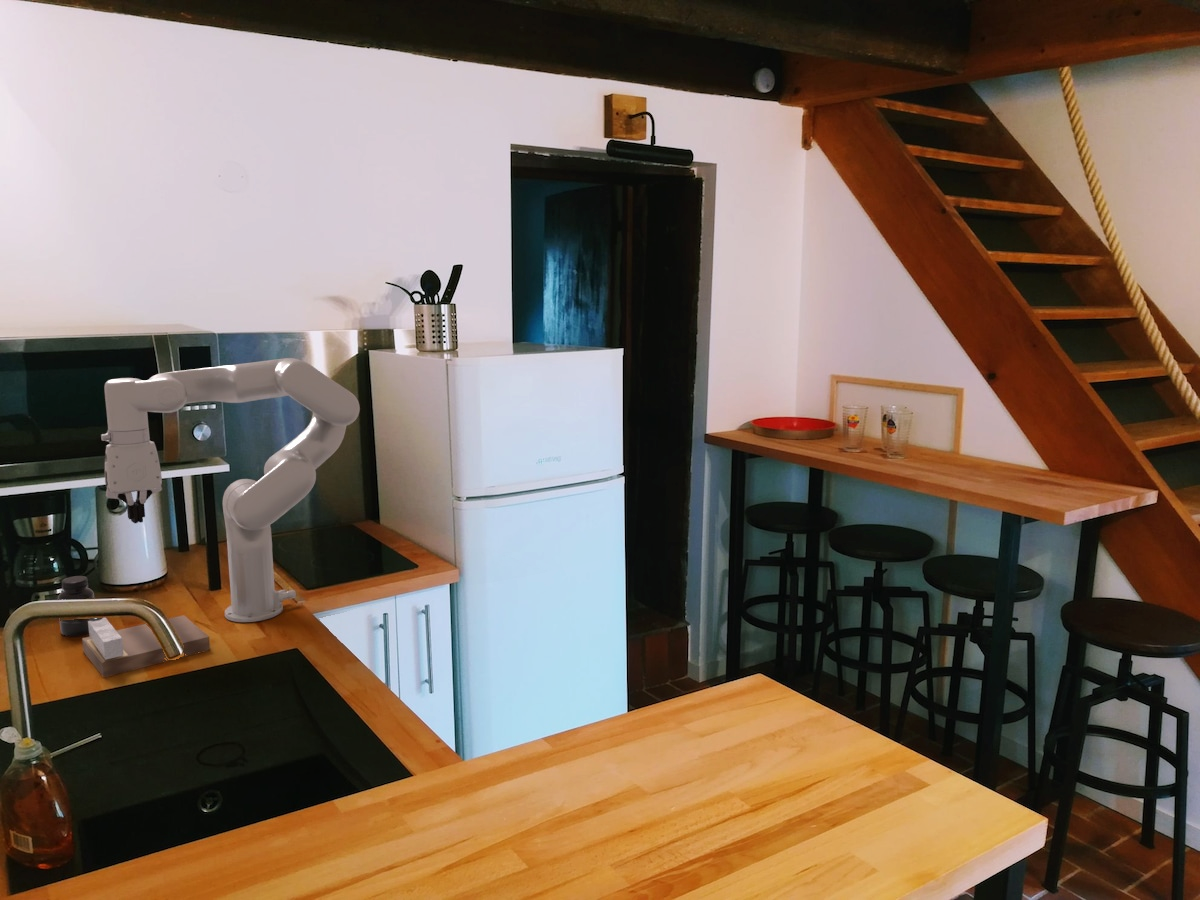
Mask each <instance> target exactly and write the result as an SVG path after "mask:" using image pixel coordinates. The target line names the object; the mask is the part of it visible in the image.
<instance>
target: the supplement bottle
mask: <svg viewBox="0 0 1200 900" xmlns="http://www.w3.org/2000/svg"><path fill="white" fill-rule="evenodd" d="M88 581H89V580H88V577H87V576H85V575H84V576H83V575H75V576H68V577H66V578H63V579H62V581H61V589H62V591H61V592H60V593H59V595H57V600H58V599H86V598H94V599H95V593H94V591H93V590H92V589H91V588H89V583H88ZM88 621H90V620H89V619H74V620H61V621H60V620H59V626H60V627H59V628H60V633H61V634H62V635H63V636H64V635H65V637H70V636H74V637H81V636H80V635H82V636H85V634H86V635H89V634H88V633H89V627H88Z"/></svg>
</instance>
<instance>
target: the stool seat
mask: <svg viewBox="0 0 1200 900" xmlns="http://www.w3.org/2000/svg"><path fill="white" fill-rule="evenodd" d="M168 619H169V621H170V623H171V624H172V626H173V628H174V629H175V631H176V632H177V634H178V636H179V637H180V639H181V641H182V643H183V645H184V656H185V654H186V655H189V656H193V655H196V654H195V653H197V654H199V653H198V652H201V653H204V652H203V651H205V652H209V651H211V643H210V636H209V635H208V634H207V633H206V632H205V631H203V630H202V629H201V628H200V627H198V626H197V625H196V624H195V623H194V622H193V621H191V619H189V618H188V617H187V616H186V615H185V614H182V615H178V616H174V617H170V618H168ZM146 624H147V623H143V624H139V625H136V626H135V625H134V626H130V627H126V628H122V629H118V630H116V631H117V633H118V634H119V635H120V636H121V638H122V644H123V654H124V655H123V656H119V657H115V658H111V659H106V660H105V659H104V657H103V656H102V654H101V653H100V652H99V650H98V649H97V647H96V646H95V645H94V643H93V642H92V640H91V639H90V637H89V636H86V637H82V638H81V640H82V651H83V653H84V654H85V656H86V657H87V658H88V660H89V661H90V662H91V664H92V665H93V666H94V667H95V669H96V670H97V672H99V674H100V675H101V677H103V678H108V677H111V676H114V675H115V676H116V675H119V674H123V673H127V672H130V671H134V670H135V671H136V670H138V669H142V668H146V667H150V666H153V665H157V664H158V665H159V664H162V663H166V662H169V661H171V660H168V659H167V658H166V656H165V654H164V652H163V649H162V647H161V646H160V644H159V642H158V640H157V639H156V637H155V635H154V634H153V632H152V630H151V629H150V628H149V627H148V626H147V625H146ZM208 650H209V651H208ZM192 654H193V655H192ZM185 657H186V656H185ZM164 658H166V659H167V660H168V661H166V660H165V659H164ZM163 661H164V662H163Z"/></svg>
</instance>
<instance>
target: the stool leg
mask: <svg viewBox="0 0 1200 900" xmlns="http://www.w3.org/2000/svg"><path fill="white" fill-rule="evenodd" d="M89 620H90V621H88V627H89V634H88V635H89V636H88V637H90V639H91V640H92V642H93V643H94V645H95V646H96V647H97V649H98V650H99V652H100V653H101V654H102V656H103V657H104V659H105V660H106V659H111V658H115V657H119V656H123V655H124V654H123V644H122V638H121V636H120V635H119V634H118V633H117V630H116V629H115V627H114V626H113V625H112V623H110V621H109V620H108V618H107V617H103V618H90V619H89Z"/></svg>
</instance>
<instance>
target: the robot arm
mask: <svg viewBox="0 0 1200 900" xmlns="http://www.w3.org/2000/svg"><path fill="white" fill-rule="evenodd" d="M103 387H104V399H105V400H104V401H105V409H106V418H107V419H106V420H107V431H106V433H102V434H100V437H101V441H103V442H104V441H105V442H108V443H109V444H107V445H105V452H104V453H105V454H104V483H105V484H104V485H105V487H106V492H105V496H106V498H108V499H115V500H121V501H122V502H124V503H125V504H126V510H127V518H128V520H130V521H131V522H132V523H133V524H138V523H144V518H145V517H146V511H145V504H146V502H147V500H148V499H149V498H150V497H151V496H152V495H154V494H156V493H159V492H161V491H163V487H162V484H163V483H162V482H163V481H162V480H163V479H162V478H163V477H162V471H161V464H160V459H159V454H158V450H157V446H156V444H155V441H151V440H150V439H151V437H150V428H149V419H148V418H149V416H148V412H149V413H161V414H162V413H163V414H166V413H167V414H169V413H175V412H178V411H179V410H181V409H182V408H183V407H184V406H185V405H187V404H192V403H201V402H222V403H228V404H229V403H230V404H234V403H235V404H240V403H247V402H252V401H253V402H254V401H259V400H266V399H276V398H280V397H281V398H282V397H290V398H291V399H292V400H294V401H295V402H297V403H298V404H299V405H301V406H303V407H304V408H306V409H307V410H309V411H311V413H312V416H311V419H310V422H309V424H308V425H307V427H306V428H305V429H303V431H302V432H301V433H299V434H298V435H297V436H296V437H294V438H293V439H292V440H291V441H289V443H287V444H286V445H285V446H283V447H282V448H281V449H279V450H278V451H276V452H275V453H274V454H273V455H271V456H269V458H268V459H267V460H266V462H265V463H264V467H263V474H264V475H263V476H261V478H260V479H258V480H255V479H250V478H241V479H237V480H235V481H233V482H232V483H230V484H229V485H228V486H227V487H226V489H225V490H224V492H223V496H222V510H223V511H222V513H223V518H224V524H225V532H226V533H225V535H226V546H227V560H228V572H229V573H228V576H229V577H228V578H229V586H230V588H229V589H230V602H231V603H230V604H231V605H229V606H227V608H225V610H224V617H225V618H226V619H227V620H229V621H231V622H236V623H252V622H253V623H254V622H261V621H266V620H269V619H272V618H274V617H276V616H279V614H281V613H282V612H283V610H284V608H283V603H282V602H284V601H285V600H291V599H295V598H296V597H297V593H296V591H295V589H291V590H286V589H279V590H276V589H275V576H274V574H275V573H274V561H273V560H274V558H273V541H272V527H271V524H273V523H275V522H276V521H278V520H279V519H280V518H281V517H282V516H284V515H285V514H286V513H288V512H289V511H290V510H291V509H292V508H294V507H295V506H296V505H297V504H298V503H300V502H301V501H302V500H303V499H304V498H306V496H307V495H308V494H309V493H310V492H311V491H312V489H313V487H314V485H315V484H316V480H317V472H316V470H317V469H318V468H319V467H320V466H321V465H323V464H324V463H325V462H326V461H327V460H328V459H329V458H331V457H332V455H334V454H335V452H337V450H338V449H339V448H340V446H341V444H342V442H343V440H344V438H345V434H346V429H347V426H349V425H352V424H353V423H354V422H355V421H356V420H357V419H358V417H359V415H360V410H361V408H360V402H359V400H358V399H357V396H356V395H354V393H353V392H351V391H350V390H348V389H347V388H345V387H343V385H341V384H340V383H338V382H336V381H335V380H333V379H332V378H330V377H328V376H327V375H325V374H324V373H323V372H321V371H320V370H319V369H317V368H316V367H314V366H313V365H311V364H310V363H308V362H307V361H304V360H300V359H298V358H293V357H284V358H278V359H270V360H261V361H255V362H254V361H253V362H246V363H236V364H227V365H219V366H214V367H213V366H212V367H202V368H195V369H192V368H190V369H186V370H185V369H184V370H175V371H169V372H168V371H167V372H161V373H157V374H155V375H152V376H151V377H149V379H147V380H142V379H140V378H136V377H135V378H133V377H120V378H112V379H108V380H107V381H106V382H105V383H104V386H103ZM134 492H136V498H135V501H134V497H133V494H132V493H134Z"/></svg>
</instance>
